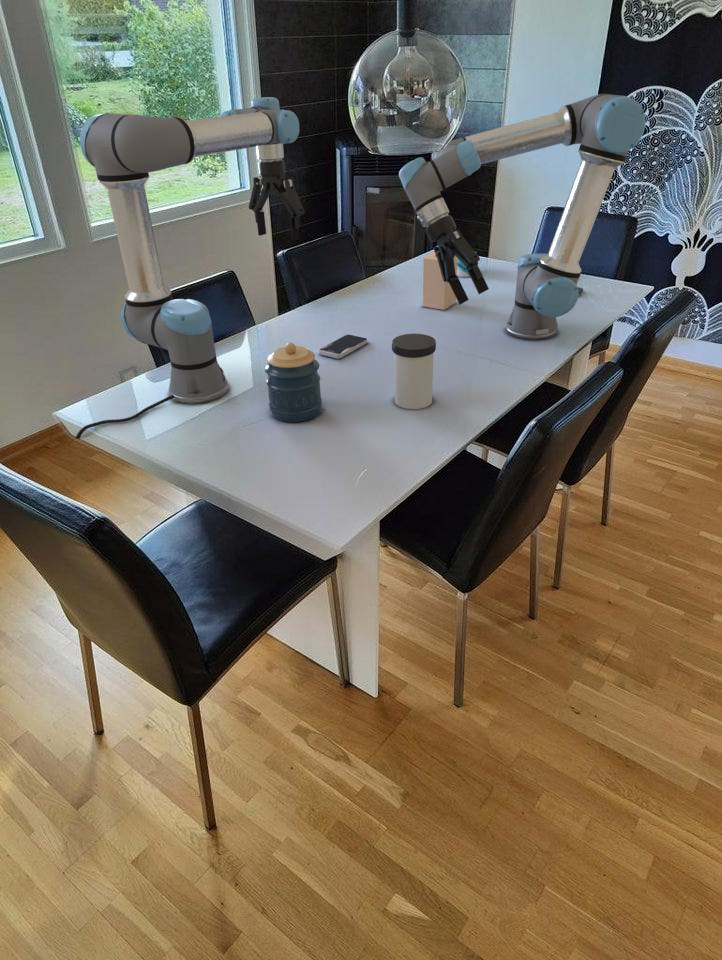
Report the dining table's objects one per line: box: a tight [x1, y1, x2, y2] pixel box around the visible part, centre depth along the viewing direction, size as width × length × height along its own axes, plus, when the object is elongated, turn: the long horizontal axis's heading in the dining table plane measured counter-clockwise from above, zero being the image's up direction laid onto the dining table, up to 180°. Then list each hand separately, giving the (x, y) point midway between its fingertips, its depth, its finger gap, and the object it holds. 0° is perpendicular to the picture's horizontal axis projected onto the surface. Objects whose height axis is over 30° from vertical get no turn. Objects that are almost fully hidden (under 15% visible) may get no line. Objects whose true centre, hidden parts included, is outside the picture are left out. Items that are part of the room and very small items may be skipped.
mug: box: [457, 258, 470, 278], centre depth 259 cm, size 8×12×8 cm
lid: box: [391, 333, 437, 358], centre depth 161 cm, size 10×11×2 cm
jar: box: [393, 352, 434, 410], centre depth 165 cm, size 10×10×15 cm
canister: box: [264, 342, 323, 423], centre depth 161 cm, size 13×13×18 cm
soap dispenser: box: [421, 251, 457, 311], centre depth 225 cm, size 13×9×22 cm
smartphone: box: [318, 334, 368, 360], centre depth 199 cm, size 8×1×15 cm
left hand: (278, 237), depth 202 cm, fingers open, 13 cm apart
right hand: (473, 297), depth 174 cm, fingers open, 13 cm apart
